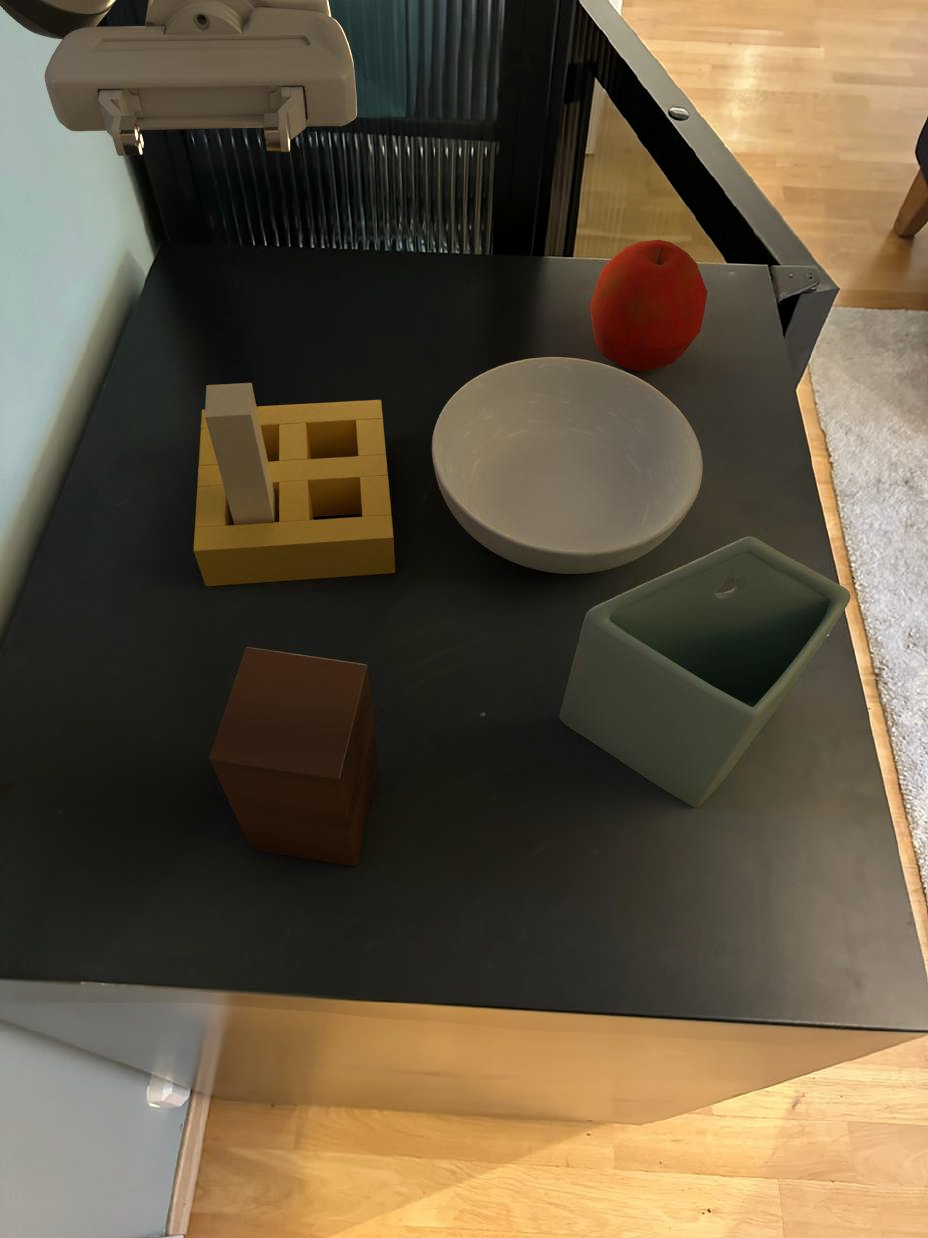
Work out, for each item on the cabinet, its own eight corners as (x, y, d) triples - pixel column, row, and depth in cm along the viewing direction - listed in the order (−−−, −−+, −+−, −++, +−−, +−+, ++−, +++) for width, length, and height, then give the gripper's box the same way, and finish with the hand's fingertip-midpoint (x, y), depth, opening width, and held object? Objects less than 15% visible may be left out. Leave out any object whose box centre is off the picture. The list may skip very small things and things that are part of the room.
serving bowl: (700, 609, 72) (724, 555, 66) (429, 606, 71) (430, 551, 65) (666, 417, 83) (684, 356, 77) (432, 412, 82) (433, 351, 77)
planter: (577, 819, 62) (631, 671, 45) (558, 714, 66) (601, 543, 50) (813, 797, 63) (948, 645, 47) (779, 695, 68) (892, 523, 51)
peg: (243, 526, 75) (206, 384, 62) (281, 523, 75) (251, 382, 62) (242, 556, 73) (204, 416, 60) (281, 553, 73) (251, 414, 61)
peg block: (212, 447, 79) (201, 409, 75) (383, 438, 80) (381, 399, 77) (205, 586, 71) (193, 550, 67) (395, 573, 72) (393, 537, 69)
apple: (597, 309, 91) (617, 200, 81) (698, 333, 89) (731, 224, 80) (571, 376, 86) (590, 267, 76) (679, 402, 84) (711, 295, 74)
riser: (278, 752, 64) (245, 646, 52) (378, 768, 63) (367, 664, 52) (250, 850, 60) (208, 758, 48) (357, 867, 60) (339, 779, 48)
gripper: (46, -11, 63) (15, 95, 55) (347, -13, 65) (357, 89, 57) (75, 85, 68) (50, 193, 61) (353, 80, 70) (362, 185, 63)
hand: (202, 143), depth 59 cm, fingers open, 8 cm apart
